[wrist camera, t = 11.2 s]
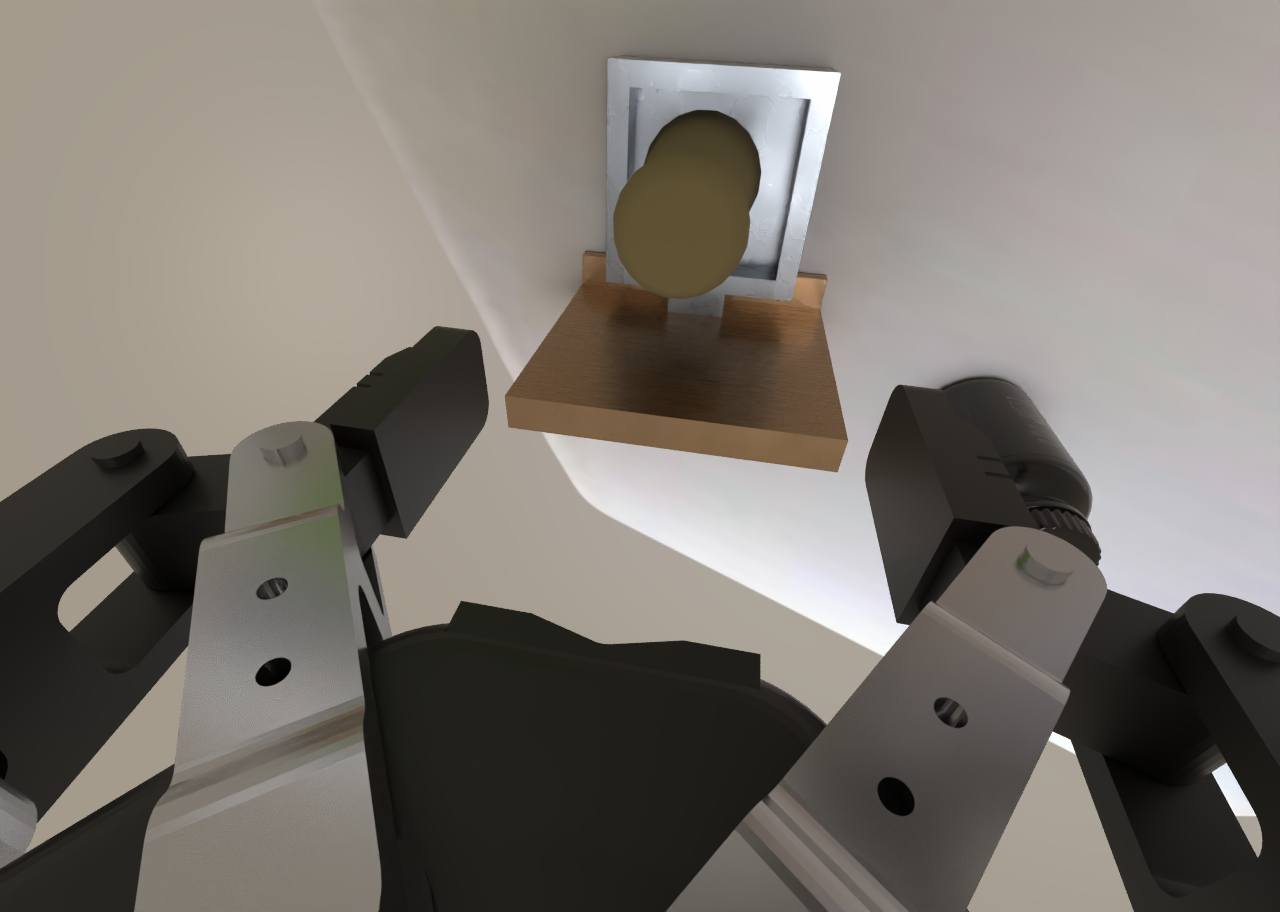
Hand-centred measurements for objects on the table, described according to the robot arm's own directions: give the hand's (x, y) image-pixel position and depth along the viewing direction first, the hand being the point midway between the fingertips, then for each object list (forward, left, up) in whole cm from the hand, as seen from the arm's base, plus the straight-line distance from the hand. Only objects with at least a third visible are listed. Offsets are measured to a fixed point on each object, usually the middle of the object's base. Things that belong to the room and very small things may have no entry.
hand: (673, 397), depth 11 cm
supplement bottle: (+13, +17, -24) cm, 32 cm away
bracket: (+3, -1, -24) cm, 24 cm away
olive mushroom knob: (0, -1, -22) cm, 22 cm away
